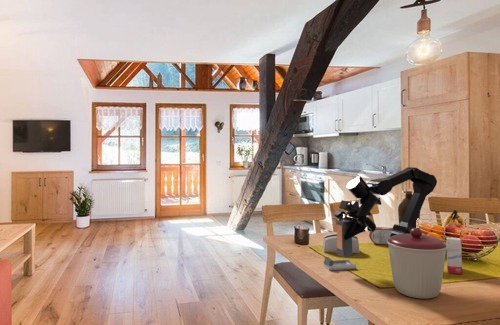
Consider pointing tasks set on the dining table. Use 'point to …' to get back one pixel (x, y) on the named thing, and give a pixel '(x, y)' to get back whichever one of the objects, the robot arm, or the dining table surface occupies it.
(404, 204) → the olive oil
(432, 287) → the canister
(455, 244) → the ink box
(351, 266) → the grey rectangular piece
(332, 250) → the white slotted device
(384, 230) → the tin
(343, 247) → the block
